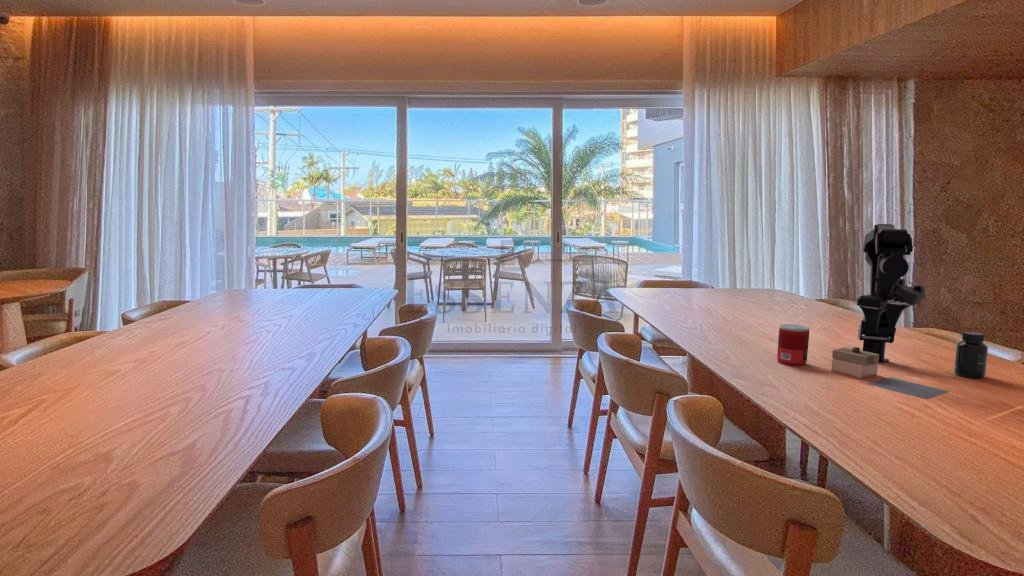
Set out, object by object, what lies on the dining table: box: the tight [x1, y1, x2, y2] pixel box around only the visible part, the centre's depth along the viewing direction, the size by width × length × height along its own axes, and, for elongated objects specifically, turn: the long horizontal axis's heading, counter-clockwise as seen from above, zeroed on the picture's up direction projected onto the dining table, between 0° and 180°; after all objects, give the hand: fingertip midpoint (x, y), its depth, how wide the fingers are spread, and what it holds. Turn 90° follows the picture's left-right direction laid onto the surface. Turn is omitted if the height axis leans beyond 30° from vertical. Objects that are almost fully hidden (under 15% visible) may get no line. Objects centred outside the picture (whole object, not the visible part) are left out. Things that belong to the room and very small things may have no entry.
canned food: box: [776, 323, 810, 367], centre depth 170 cm, size 8×8×11 cm
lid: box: [831, 346, 880, 366], centre depth 159 cm, size 6×9×4 cm
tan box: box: [830, 358, 879, 380], centre depth 159 cm, size 8×8×4 cm
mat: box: [865, 376, 951, 400], centre depth 147 cm, size 12×14×1 cm
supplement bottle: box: [953, 331, 989, 379], centre depth 159 cm, size 7×7×12 cm
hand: (883, 330), depth 161 cm, fingers open, 9 cm apart
